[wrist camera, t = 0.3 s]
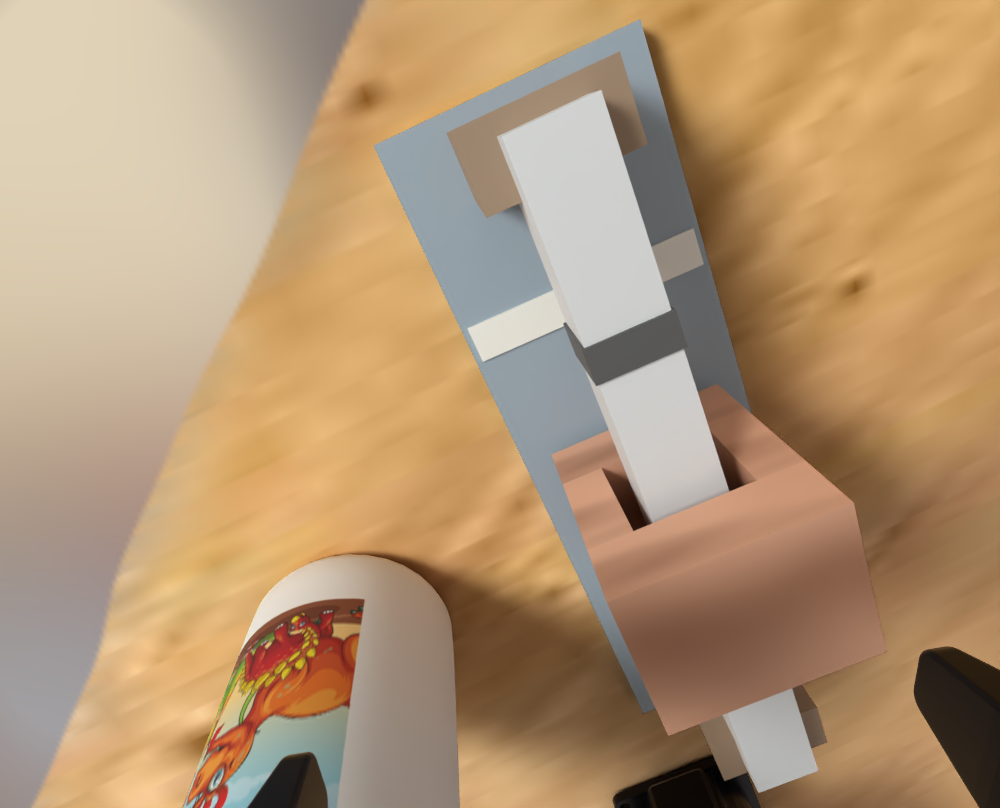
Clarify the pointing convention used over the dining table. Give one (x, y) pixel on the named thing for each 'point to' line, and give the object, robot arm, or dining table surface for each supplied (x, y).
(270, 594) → the milk bottle
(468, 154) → the rail
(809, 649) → the collar
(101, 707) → the dining table surface
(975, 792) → the robot arm
